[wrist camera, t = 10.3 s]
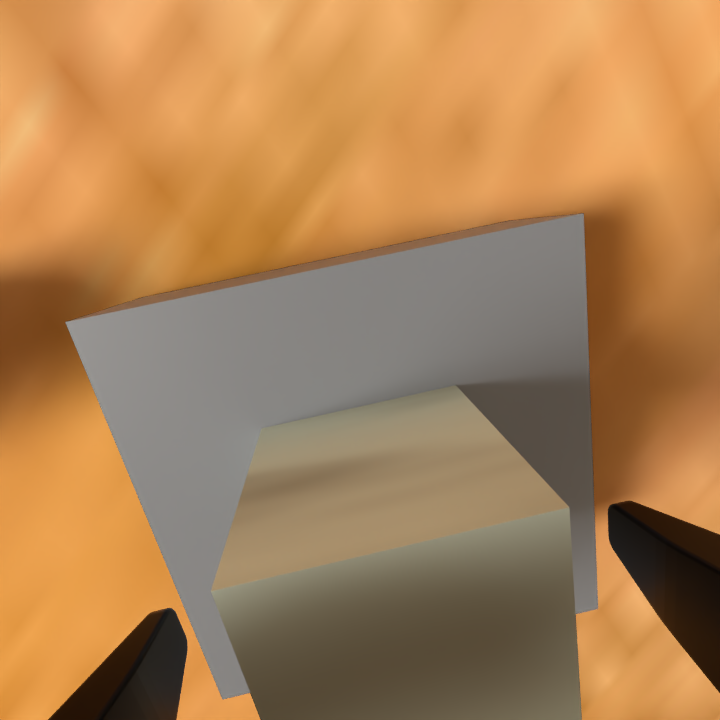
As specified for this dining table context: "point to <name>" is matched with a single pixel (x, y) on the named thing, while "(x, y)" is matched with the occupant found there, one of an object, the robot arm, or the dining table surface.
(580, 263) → the plinth
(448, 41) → the dining table surface
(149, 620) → the robot arm
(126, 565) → the dining table surface
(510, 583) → the cube
